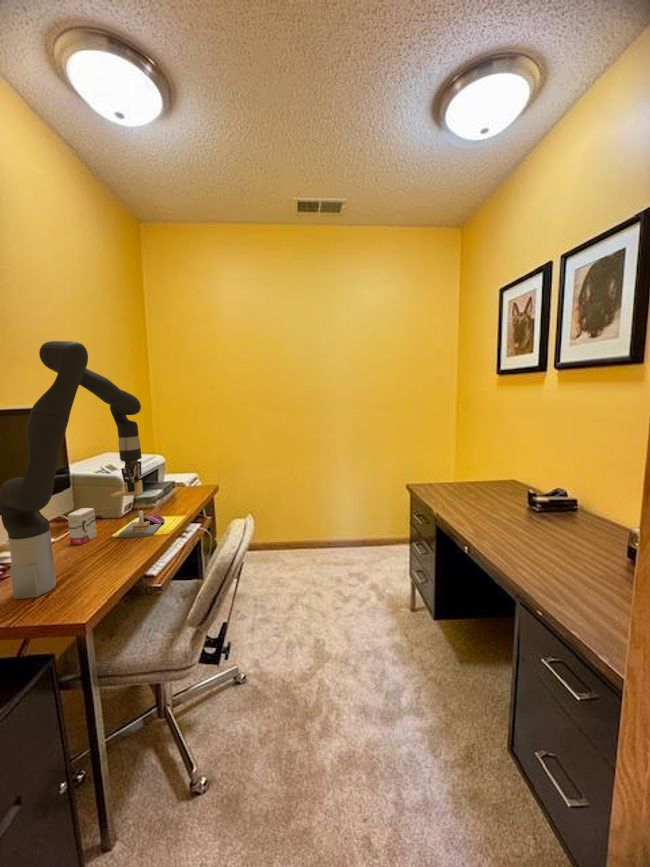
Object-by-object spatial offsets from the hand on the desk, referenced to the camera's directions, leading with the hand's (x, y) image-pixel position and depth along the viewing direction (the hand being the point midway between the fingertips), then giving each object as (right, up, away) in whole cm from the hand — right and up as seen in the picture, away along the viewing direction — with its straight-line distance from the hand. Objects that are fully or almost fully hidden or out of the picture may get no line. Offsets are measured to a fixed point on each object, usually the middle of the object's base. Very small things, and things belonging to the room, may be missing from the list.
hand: (134, 489), depth 144 cm
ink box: (-18, -20, -3) cm, 27 cm away
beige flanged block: (-3, -2, 0) cm, 3 cm away
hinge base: (0, -18, +6) cm, 19 cm away
